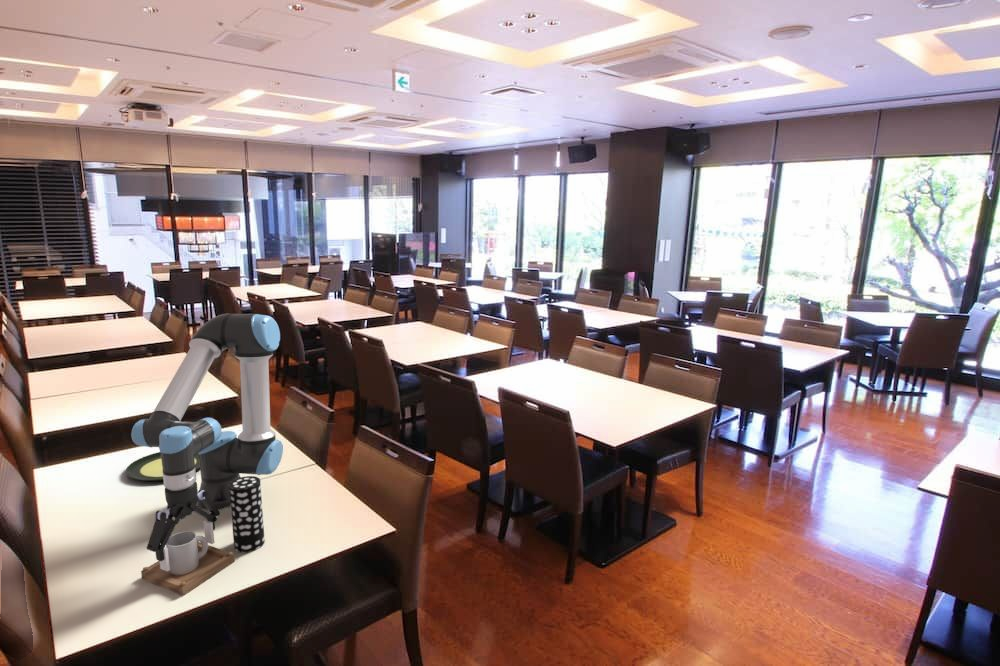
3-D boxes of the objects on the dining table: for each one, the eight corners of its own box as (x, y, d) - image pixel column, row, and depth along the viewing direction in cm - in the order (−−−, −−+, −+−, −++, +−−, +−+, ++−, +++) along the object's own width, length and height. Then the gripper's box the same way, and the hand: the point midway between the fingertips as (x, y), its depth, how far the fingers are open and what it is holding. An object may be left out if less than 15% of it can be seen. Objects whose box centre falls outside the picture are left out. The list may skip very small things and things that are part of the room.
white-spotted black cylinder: (245, 555, 160) (240, 492, 156) (228, 546, 164) (222, 484, 160) (270, 542, 167) (266, 480, 163) (253, 533, 171) (248, 473, 167)
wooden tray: (142, 578, 149) (140, 569, 148) (195, 547, 163) (194, 538, 163) (183, 595, 143) (182, 585, 142) (234, 561, 157) (233, 552, 156)
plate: (187, 448, 232) (186, 442, 232) (224, 465, 217) (223, 459, 217) (112, 472, 210) (111, 466, 209) (147, 493, 194) (146, 486, 194)
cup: (165, 567, 152) (162, 538, 150) (205, 552, 159) (202, 524, 157) (173, 579, 147) (170, 549, 145) (213, 564, 154) (211, 535, 152)
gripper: (144, 509, 135) (154, 586, 140) (230, 468, 158) (235, 535, 162) (124, 502, 138) (134, 577, 142) (211, 463, 160) (217, 529, 165)
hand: (188, 555), depth 152 cm, fingers open, 13 cm apart
